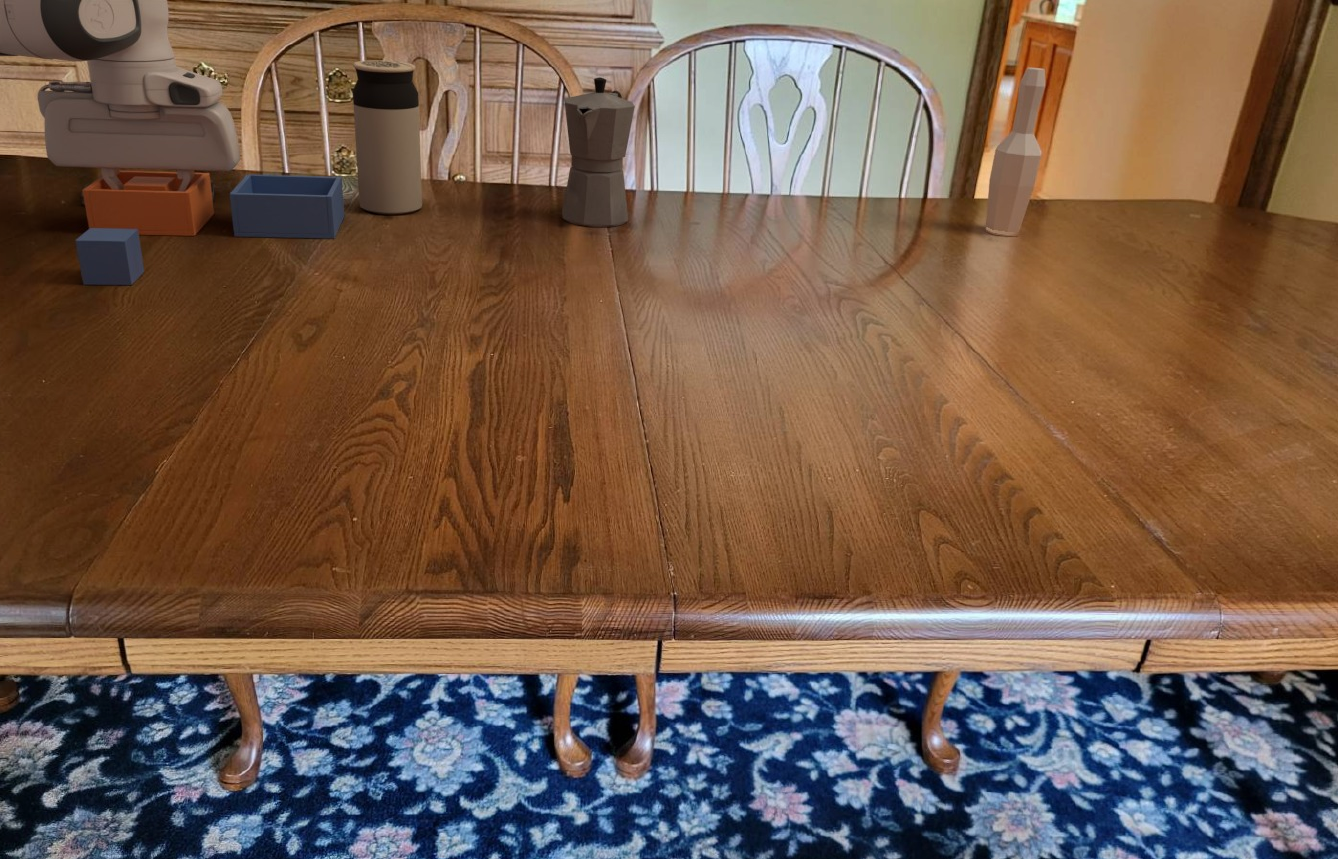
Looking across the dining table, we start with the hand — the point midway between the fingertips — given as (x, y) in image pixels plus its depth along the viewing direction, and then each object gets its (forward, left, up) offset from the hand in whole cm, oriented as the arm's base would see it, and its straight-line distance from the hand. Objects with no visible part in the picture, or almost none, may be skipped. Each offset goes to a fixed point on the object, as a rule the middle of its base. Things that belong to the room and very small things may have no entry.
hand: (153, 206), depth 124 cm
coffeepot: (+53, +8, -2) cm, 54 cm away
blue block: (+1, -21, -2) cm, 21 cm away
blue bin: (+15, 0, -2) cm, 16 cm away
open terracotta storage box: (-4, +12, -2) cm, 13 cm away
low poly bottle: (+110, +5, -2) cm, 111 cm away
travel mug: (+26, +10, -2) cm, 28 cm away
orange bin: (0, 0, -2) cm, 2 cm away
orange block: (0, 0, -2) cm, 2 cm away
